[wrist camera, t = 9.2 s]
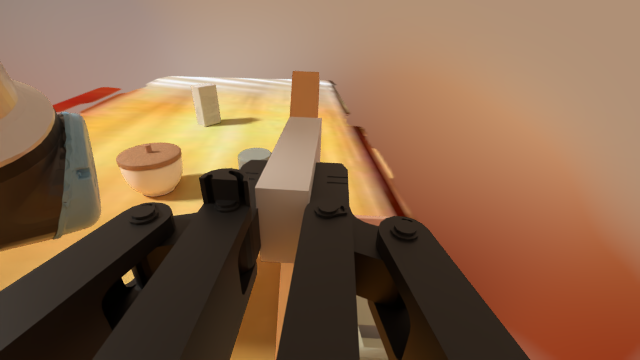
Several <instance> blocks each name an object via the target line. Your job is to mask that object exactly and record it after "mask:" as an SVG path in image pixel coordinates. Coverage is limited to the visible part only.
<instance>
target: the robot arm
mask: <svg viewBox="0 0 640 360" xmlns="http://www.w3.org/2000/svg"><path fill="white" fill-rule="evenodd" d="M321 124H322V118H308V117H289V119H288V122H287V124H286V126H285V128H284V130H283V132H282V134H281V136H280V138H279V140H278V142H277V144H276V146H275V148H274V150H273V152H272V154H271V156H270V158H269V160H250V161H248V162H247V163H245V164H243V165H242V167H241V168H240V170H238V169H232V168H228V169H218V170H213V171H210V172H208V173H205V174H204V175H202V176H201V177H200V178H199V180H200V186H201V191H202V196H203V202H204V204H203V206H202V207H201V208H200V210H199V211H198V212H197V213H192V214H185V215H177V216H173V214H172V210H171V208H170V207H169V206H168V205H166V204H163V203H155V202H152V203H143V204H140V205H137V206H134V207H132V208H130V209H128V210H126V211H124V212H122V213H121V214H119V215H118V216H116V217H115V218H113V219H111V220H110V221H108V222H107V223H105V224H104V225H102V226H101V227H99V228H98V229H96V230H94V231H93V232H91V233H90V234H88V235H87V236H85V237H84V238H82V239H81V240H79V241H77V242H76V243H74V244H73V245H71V246H70V247H68V248H67V249H65V250H64V251H62V252H60V253H59V254H57V255H56V256H54V257H53V258H51V259H50V260H48V261H46V262H45V263H43V264H42V265H40V266H39V267H37V268H36V269H34V270H33V271H31V272H29V273H28V274H26V275H25V276H23V277H22V278H20V279H19V280H17V281H16V282H14V283H12V284H11V285H9V286H8V287H6V288H5V289H3V290H2V291H0V360H230V357H231V354H232V350H233V347H234V344H235V341H236V338H237V335H238V332H239V328H240V325H241V322H242V319H243V316H244V313H245V310H246V306H247V303H248V300H249V297H250V294H251V291H252V288H253V284H254V281H255V278H256V275H257V262H256V259H257V256H258V254H259V251H260V256H261V261H264V262H278V263H294V267H293V273H292V278H291V283H290V289H289V294H288V299H287V305H286V310H285V315H284V321H283V326H282V331H281V337H280V342H279V347H278V353H277V358H276V360H360V354H359V335H358V317H357V299H356V295H357V296H359V297H362V298H365V299H367V301H368V306H369V309H370V311H371V314H372V317H373V319H374V322H375V325H376V327H377V330H378V333H379V335H380V338H381V341H382V343H383V346H384V349H385V351H386V354H387V357H388V359H389V360H530V359H529V358H528V356H527V355H526V354H525V353H524V351H523V350H522V349H521V348H520V346H519V345H518V344H517V342H516V341H515V340H514V338H513V337H512V336H511V335H510V333H509V332H508V331H507V330H506V328H505V327H504V326H503V324H502V323H501V322H500V321H499V319H498V318H497V317H496V315H495V314H494V313H493V312H492V310H491V309H490V308H489V306H488V305H487V304H486V303H485V301H484V300H483V299H482V298H481V296H480V295H479V294H478V292H477V291H476V290H475V288H474V287H473V286H472V285H471V283H470V282H469V281H468V280H467V278H466V277H465V276H464V274H463V273H462V272H461V271H460V269H459V268H458V267H457V265H456V264H455V263H454V262H453V260H452V259H451V258H450V256H449V255H448V254H447V253H446V251H445V250H444V249H443V247H442V246H441V245H440V244H439V242H438V241H437V240H436V238H435V237H434V236H433V235H432V233H431V232H430V231H429V230H428V229H427V228H426V227H425V226H424V225H423V224H422V223H420V222H418V221H416V220H414V219H411V218H407V217H400V216H393V217H389V218H386V219H384V220H383V221H381V222H380V224H379V226H376V225H372V224H369V223H366V222H364V221H362V220H360V219H358V218H357V217H355V216H354V215H353V214H352V212H351V209H350V207H349V190H348V170H347V169H346V168H345V167H344V165H343V164H340V163H322V162H320V150H321ZM100 215H101V202H100V194H99V187H98V180H97V174H96V169H95V163H94V158H93V153H92V148H91V143H90V139H89V134H88V130H87V126H86V123H85V121H84V119H83V117H82V116H80V115H79V114H75V113H72V114H71V113H68V112H63V113H62V112H61V113H60V114H59V115H57V114H56V111H55V110H54V108H53V106H52V104H51V103H50V101H49V100H48V98H47V97H46V96H45V95H44V94H43V93H42V92H40V91H39V90H37V89H35V88H33V87H31V86H29V85H27V84H24V83H21V82H18V81H14V80H11V78H10V77H9V75H8V73H7V72H6V70H5V68H4V67H3V65H2V64H1V62H0V251H4V250H8V249H12V248H17V247H21V246H25V245H29V244H34V243H38V242H42V241H46V240H50V239H59V238H60V237H61V236H62V235H65V234H69V233H72V232H76V231H79V230H82V229H86V228H89V227H91V226H92V225H94V224H95V223H96V222H97V221H98V219H99V218H100ZM131 269H132V272H133V275H134V277H135V278H134V279H133V280H132V281H131V282H129V283H127V284H124V283H123V280H122V278H121V277H122V276H124V275H125V274H126V273H127V272H128V271H129V270H131Z"/></svg>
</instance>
